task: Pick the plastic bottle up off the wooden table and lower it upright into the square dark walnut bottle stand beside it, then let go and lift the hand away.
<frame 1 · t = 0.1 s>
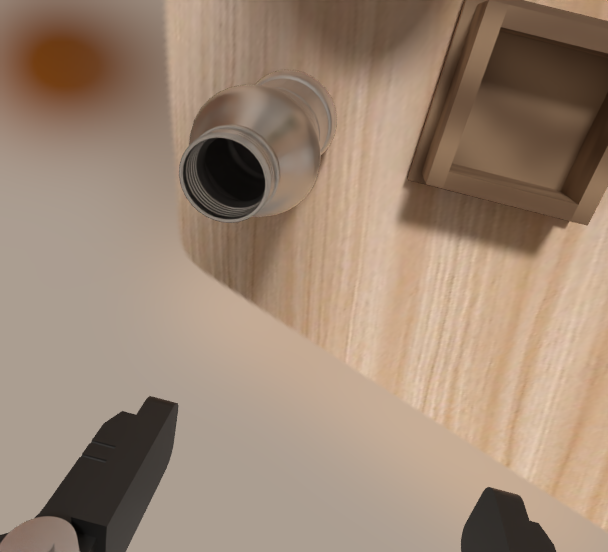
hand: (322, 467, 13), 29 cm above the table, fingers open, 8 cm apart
bottle stand: (523, 112, 35), on the table
plastic bottle: (296, 114, 38), on the table
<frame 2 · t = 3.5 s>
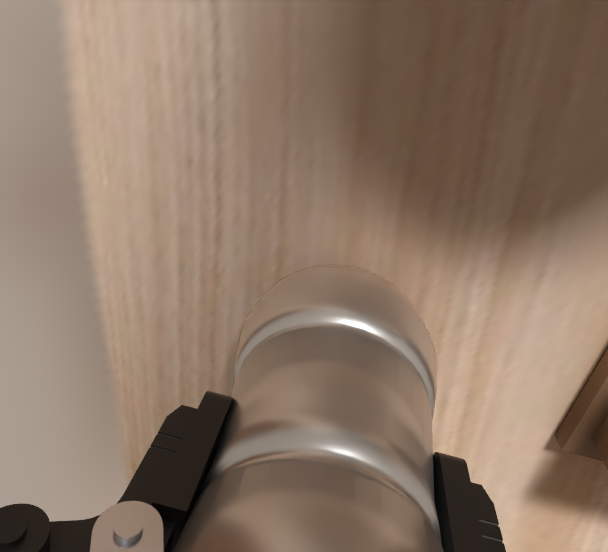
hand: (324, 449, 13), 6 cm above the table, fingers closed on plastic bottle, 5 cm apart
plastic bottle: (341, 321, 19), on the table, touching gripper
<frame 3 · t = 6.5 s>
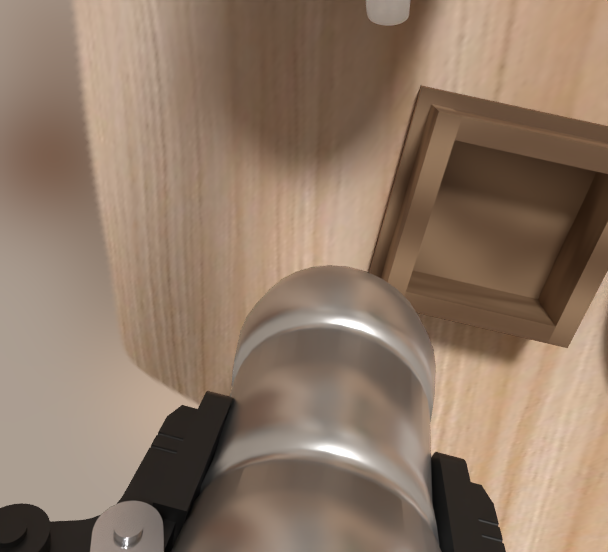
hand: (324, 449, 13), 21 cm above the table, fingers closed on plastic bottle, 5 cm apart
bottle stand: (491, 215, 31), on the table
plastic bottle: (340, 322, 19), point 14 cm above the table, touching gripper
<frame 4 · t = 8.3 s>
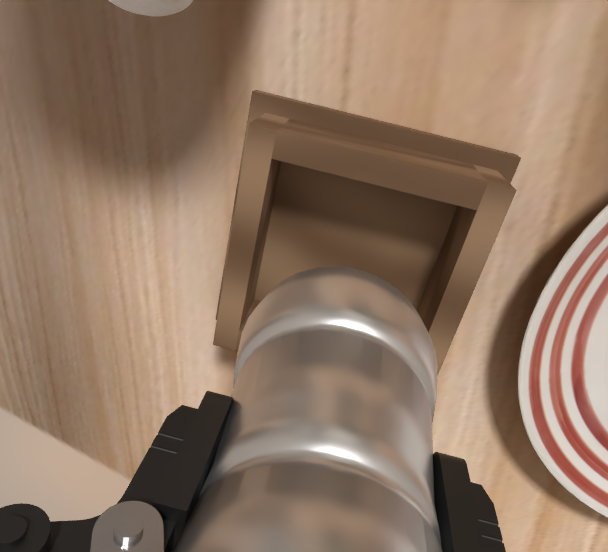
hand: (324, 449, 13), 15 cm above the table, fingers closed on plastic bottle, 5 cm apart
bottle stand: (351, 242, 27), on the table
plastic bottle: (342, 323, 19), point 9 cm above the table, touching gripper
when the fingers open (9 cm above the table, at t = 10.0 s): plastic bottle drops 1 cm, resting on bottle stand.
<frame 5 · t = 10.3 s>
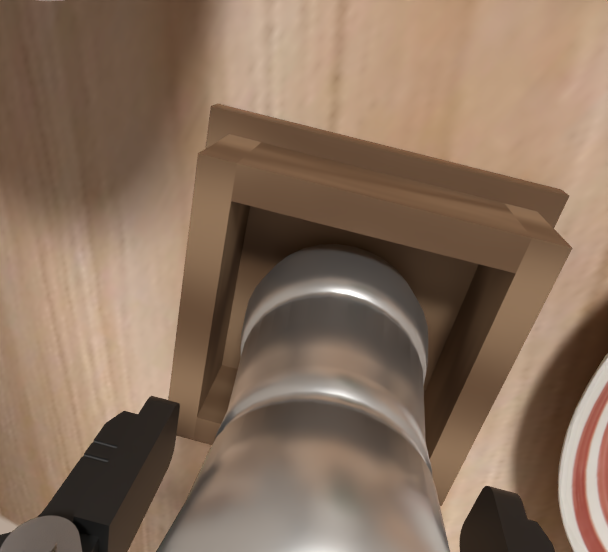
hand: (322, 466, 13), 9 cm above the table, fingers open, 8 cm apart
bottle stand: (343, 297, 21), on the table
plastic bottle: (339, 300, 20), point 1 cm above the table, touching bottle stand
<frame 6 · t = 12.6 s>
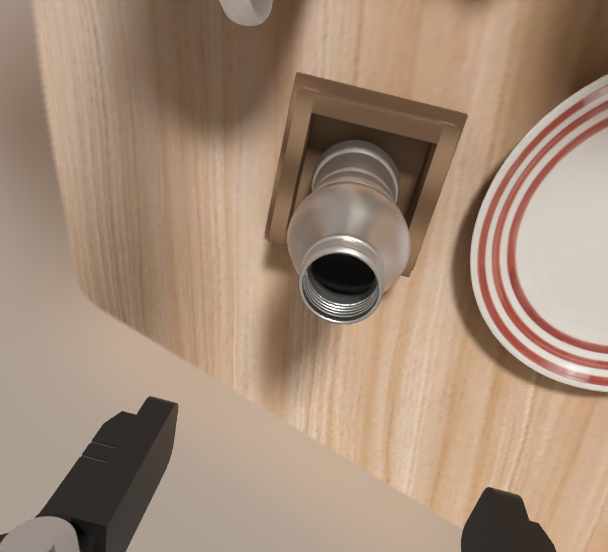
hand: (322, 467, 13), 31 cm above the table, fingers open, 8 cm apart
bottle stand: (358, 176, 40), on the table
plastic bottle: (356, 175, 39), point 1 cm above the table, touching bottle stand
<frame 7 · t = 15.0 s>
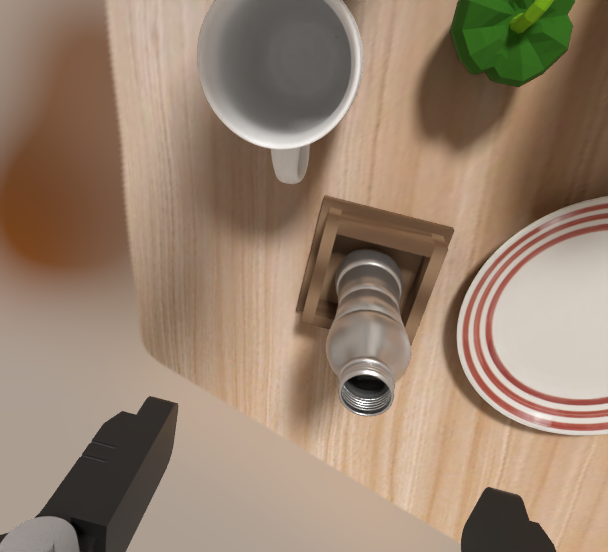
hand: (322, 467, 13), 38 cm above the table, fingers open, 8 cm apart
mug: (303, 72, 44), on the table
bell pepper: (496, 26, 41), on the table
dinner plate: (589, 314, 51), on the table
bottle stand: (370, 269, 51), on the table
plastic bottle: (369, 270, 51), point 1 cm above the table, touching bottle stand
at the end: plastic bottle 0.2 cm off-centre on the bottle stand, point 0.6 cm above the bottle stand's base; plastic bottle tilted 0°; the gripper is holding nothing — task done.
